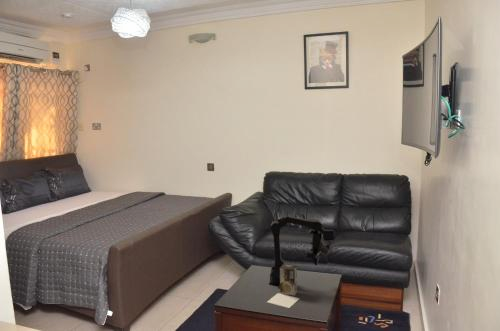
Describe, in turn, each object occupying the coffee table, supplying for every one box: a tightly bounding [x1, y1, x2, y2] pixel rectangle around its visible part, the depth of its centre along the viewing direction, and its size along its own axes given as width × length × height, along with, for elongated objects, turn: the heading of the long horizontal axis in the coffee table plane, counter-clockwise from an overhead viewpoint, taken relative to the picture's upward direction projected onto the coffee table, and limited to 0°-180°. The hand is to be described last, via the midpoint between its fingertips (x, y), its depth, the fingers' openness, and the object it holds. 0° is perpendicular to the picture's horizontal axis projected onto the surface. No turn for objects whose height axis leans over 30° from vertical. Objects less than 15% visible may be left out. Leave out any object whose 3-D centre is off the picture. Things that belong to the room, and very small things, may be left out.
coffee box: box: [279, 264, 298, 297], centre depth 232 cm, size 9×6×16 cm
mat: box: [266, 292, 300, 309], centre depth 223 cm, size 14×14×1 cm
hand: (316, 265), depth 243 cm, fingers closed
